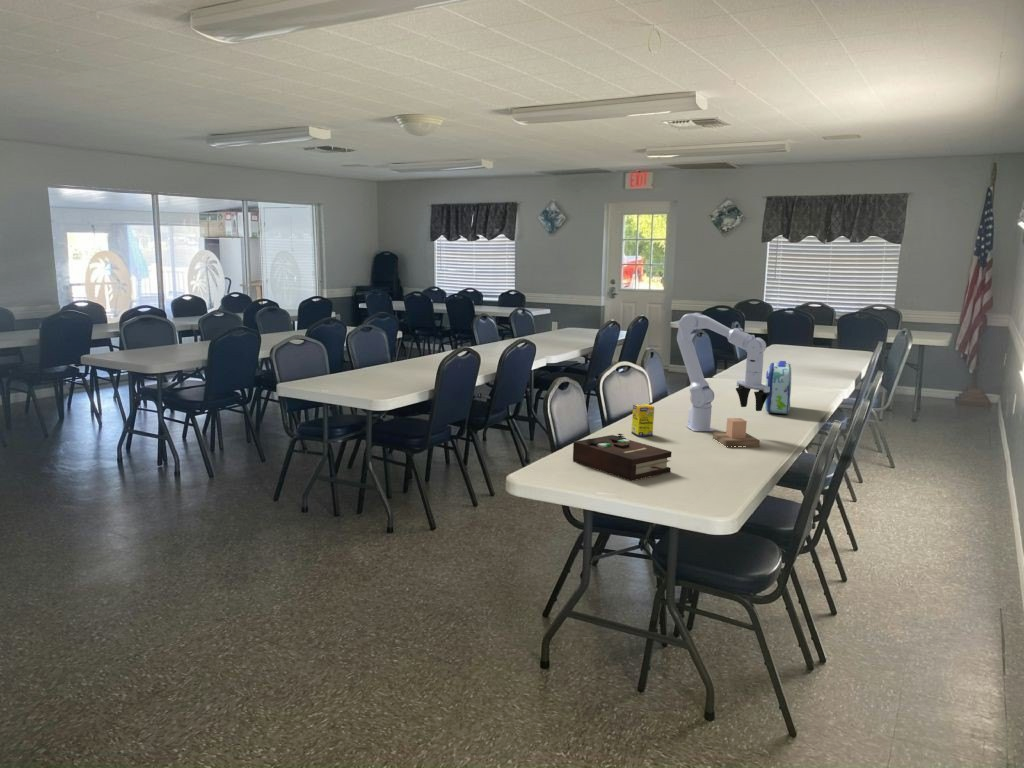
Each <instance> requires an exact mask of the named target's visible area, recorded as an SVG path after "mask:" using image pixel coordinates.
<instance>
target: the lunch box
mask: <svg viewBox="0 0 1024 768" xmlns="http://www.w3.org/2000/svg"><path fill="white" fill-rule="evenodd" d="M791 366H792V365H791V363H789V362H788V363H787V361H786V360H779V361H778V362H771V363H769V367H768V369H767V371H766V374H765V386H768V387H770V394H769V396H768V397H767V399H766V400H765V403H764V408H765V410H766V412H767V413H772V414H780V415H781V414H785V415H788V414H789V412H790V409H791V393H792V367H791Z"/></svg>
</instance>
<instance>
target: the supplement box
mask: <svg viewBox="0 0 1024 768" xmlns="http://www.w3.org/2000/svg"><path fill="white" fill-rule="evenodd" d="M654 417H655V407H654V406H653V405H651V404H649V403H646V404H645V403H641V404H635V403H633V404H632V417H631V434H633V435H634V436H636V437H637V438H638V437H639V438H640V436H641V437H653V435H654V434H653V433H654V431H653V430H654Z"/></svg>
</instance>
